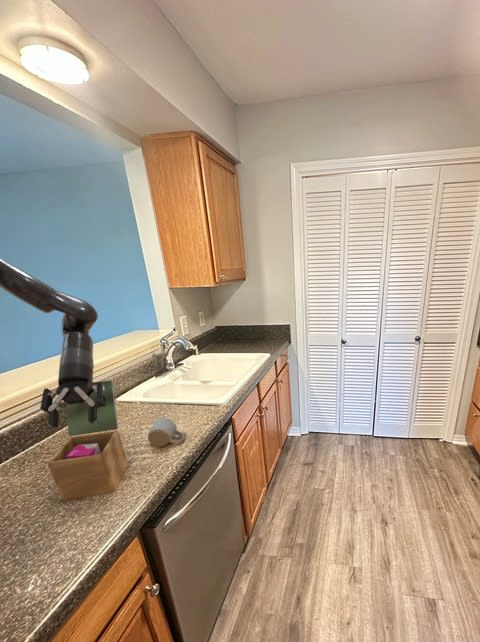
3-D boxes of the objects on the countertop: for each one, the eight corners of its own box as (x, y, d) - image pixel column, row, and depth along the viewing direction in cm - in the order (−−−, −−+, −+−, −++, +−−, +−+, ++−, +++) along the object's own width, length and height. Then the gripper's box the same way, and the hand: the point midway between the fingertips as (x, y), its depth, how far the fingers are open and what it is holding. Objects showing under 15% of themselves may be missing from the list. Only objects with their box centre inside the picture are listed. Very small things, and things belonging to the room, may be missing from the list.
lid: (111, 380, 94) (112, 380, 95) (62, 385, 91) (64, 385, 92) (117, 429, 93) (118, 429, 94) (68, 436, 91) (70, 435, 92)
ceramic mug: (149, 449, 108) (144, 429, 105) (156, 437, 116) (152, 418, 113) (181, 447, 109) (177, 426, 106) (186, 435, 116) (183, 416, 114)
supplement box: (88, 478, 93) (76, 444, 88) (110, 476, 93) (99, 442, 89) (77, 491, 87) (64, 456, 83) (100, 489, 88) (89, 454, 83)
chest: (116, 495, 87) (103, 455, 82) (64, 505, 84) (47, 463, 79) (129, 467, 99) (118, 430, 94) (83, 474, 96) (70, 437, 91)
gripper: (38, 364, 83) (31, 423, 77) (99, 358, 85) (97, 415, 79) (55, 377, 89) (49, 433, 83) (110, 371, 92) (109, 425, 86)
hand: (73, 424), depth 81 cm, fingers open, 8 cm apart
